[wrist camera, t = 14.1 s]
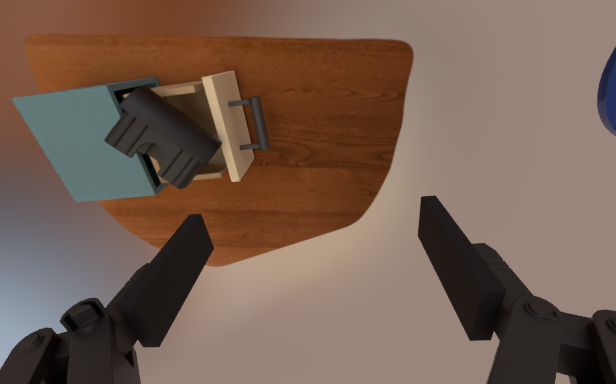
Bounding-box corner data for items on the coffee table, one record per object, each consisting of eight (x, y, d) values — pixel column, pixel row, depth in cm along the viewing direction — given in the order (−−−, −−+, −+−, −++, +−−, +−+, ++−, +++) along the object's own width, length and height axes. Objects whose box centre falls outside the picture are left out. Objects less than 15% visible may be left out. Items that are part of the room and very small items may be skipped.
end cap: (224, 141, 36) (221, 144, 30) (192, 182, 36) (183, 193, 30) (155, 90, 33) (136, 80, 26) (121, 135, 33) (93, 137, 27)
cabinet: (156, 76, 40) (105, 85, 30) (189, 166, 47) (155, 195, 37) (81, 87, 41) (10, 98, 32) (123, 172, 48) (75, 202, 39)
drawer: (262, 66, 37) (246, 71, 30) (279, 155, 44) (269, 178, 36) (159, 80, 39) (118, 88, 31) (189, 164, 45) (162, 188, 38)
